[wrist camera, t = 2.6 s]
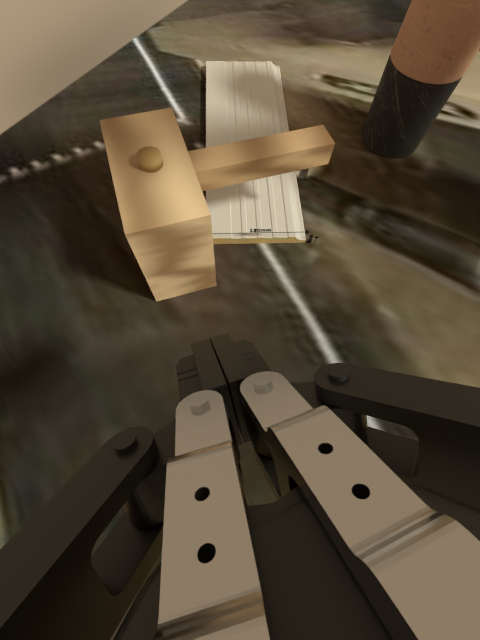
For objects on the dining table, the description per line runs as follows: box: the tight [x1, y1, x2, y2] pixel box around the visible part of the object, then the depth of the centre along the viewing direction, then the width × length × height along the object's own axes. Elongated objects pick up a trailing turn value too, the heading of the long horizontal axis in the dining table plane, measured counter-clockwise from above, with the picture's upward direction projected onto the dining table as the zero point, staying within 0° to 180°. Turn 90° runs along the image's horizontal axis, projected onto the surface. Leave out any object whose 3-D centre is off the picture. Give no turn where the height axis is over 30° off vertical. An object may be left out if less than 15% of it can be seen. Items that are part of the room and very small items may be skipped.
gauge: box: [100, 108, 335, 301], centre depth 29 cm, size 18×12×11 cm, turn 108°
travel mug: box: [362, 0, 480, 158], centre depth 31 cm, size 8×8×20 cm
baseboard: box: [206, 61, 319, 244], centre depth 39 cm, size 31×3×12 cm
